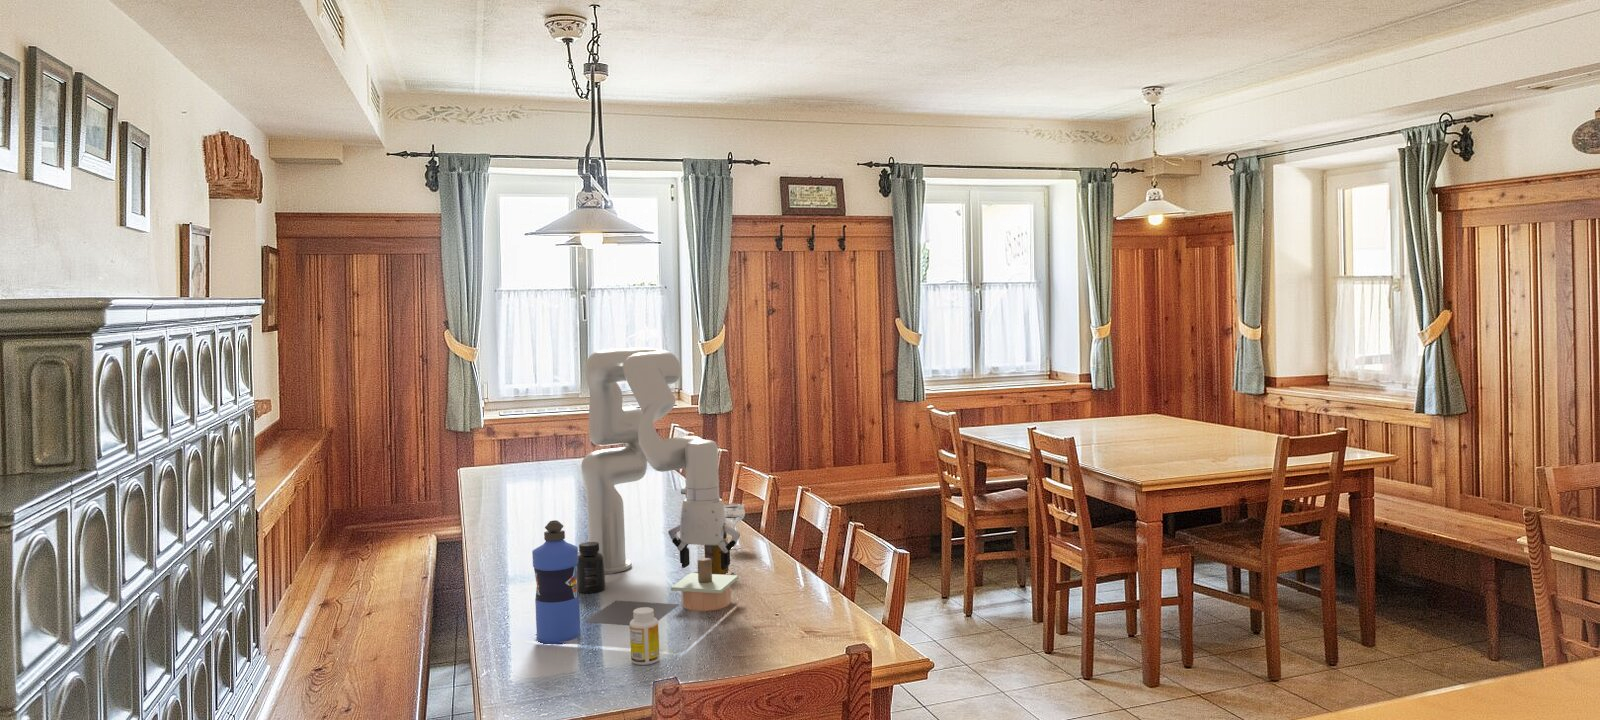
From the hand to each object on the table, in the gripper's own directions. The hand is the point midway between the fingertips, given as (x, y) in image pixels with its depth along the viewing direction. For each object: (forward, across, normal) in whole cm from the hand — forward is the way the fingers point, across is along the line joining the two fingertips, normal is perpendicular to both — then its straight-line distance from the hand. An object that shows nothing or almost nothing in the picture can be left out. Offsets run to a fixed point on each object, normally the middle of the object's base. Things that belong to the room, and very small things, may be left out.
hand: (705, 567), depth 236 cm
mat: (+9, -14, -10) cm, 19 cm away
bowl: (+9, 0, 0) cm, 9 cm away
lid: (+4, 0, 0) cm, 4 cm away
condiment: (+9, -8, +26) cm, 29 cm away
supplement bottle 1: (+9, -32, +5) cm, 34 cm away
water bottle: (+9, -23, -27) cm, 37 cm away
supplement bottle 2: (+9, +1, -36) cm, 37 cm away
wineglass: (+9, -12, +53) cm, 55 cm away
